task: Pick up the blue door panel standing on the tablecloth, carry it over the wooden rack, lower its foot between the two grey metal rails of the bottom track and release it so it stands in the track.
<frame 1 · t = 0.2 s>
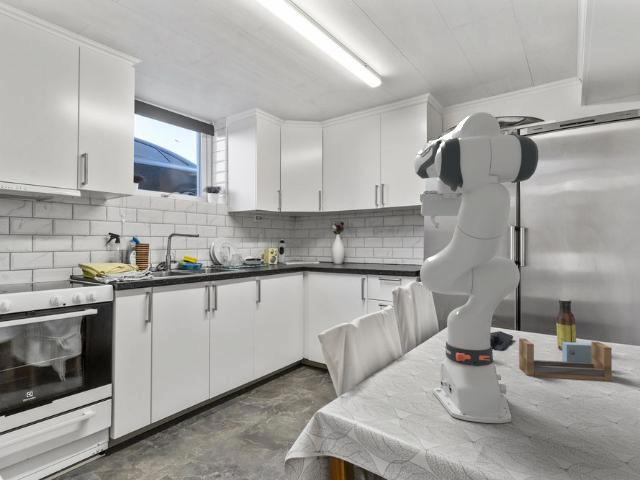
hand: (449, 228, 130), 48 cm above the table, tool pointing down, fingers open, 8 cm apart
door panel: (580, 367, 123), on the table
dark grey flat piece: (491, 344, 153), on the table
wooden rack: (563, 373, 116), on the table
sauce bottle: (566, 350, 142), on the table
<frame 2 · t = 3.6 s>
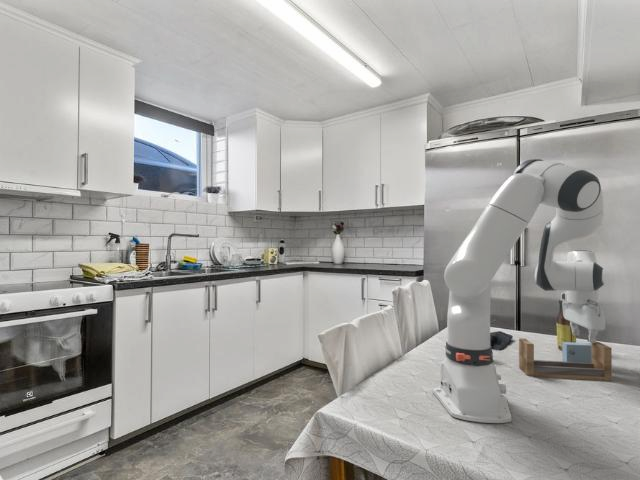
hand: (583, 338, 122), 10 cm above the table, tool pointing down, fingers open, 8 cm apart
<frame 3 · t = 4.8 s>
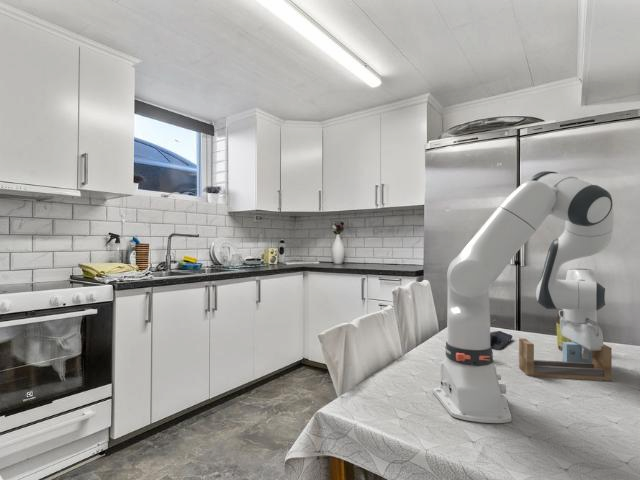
hand: (580, 356, 123), 4 cm above the table, tool pointing down, fingers closed on door panel, 3 cm apart
door panel: (580, 367, 123), on the table, touching gripper
everything else where it was.
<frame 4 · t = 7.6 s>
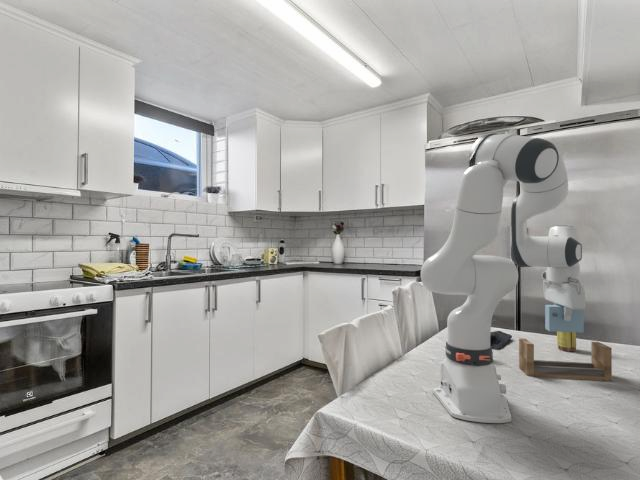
hand: (563, 318, 116), 18 cm above the table, tool pointing down, fingers closed on door panel, 3 cm apart
door panel: (564, 330, 116), point 14 cm above the table, touching gripper
when the fingers open (5 cm above the table, at t = 9.5 s): door panel stays where it is, resting on wooden rack.
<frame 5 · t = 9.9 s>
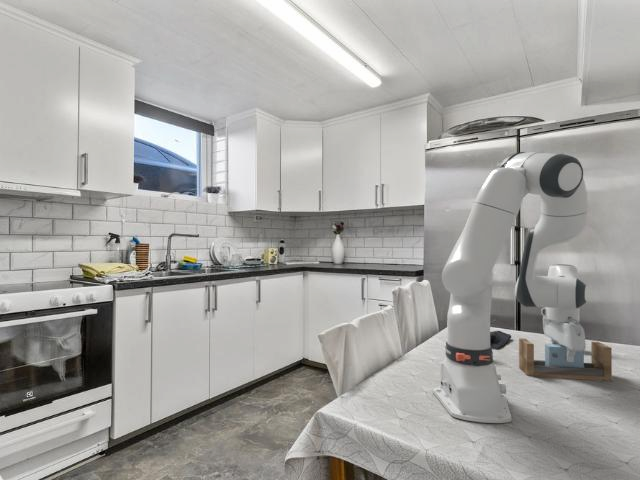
hand: (563, 357, 116), 5 cm above the table, tool pointing down, fingers open, 7 cm apart
door panel: (564, 370, 116), point 1 cm above the table, touching wooden rack
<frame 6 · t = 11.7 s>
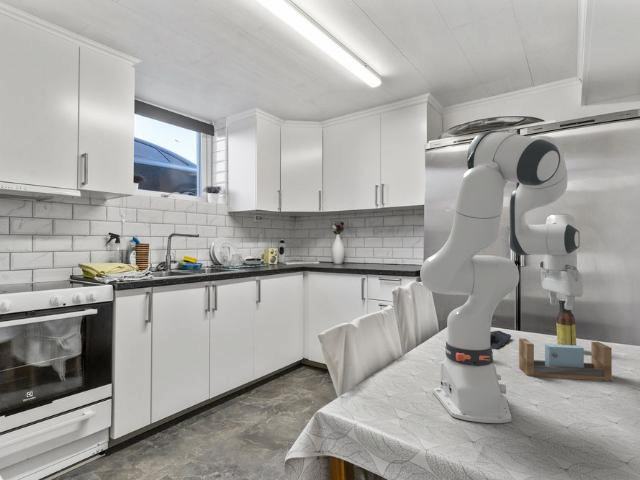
hand: (560, 306, 117), 22 cm above the table, tool pointing down, fingers open, 8 cm apart
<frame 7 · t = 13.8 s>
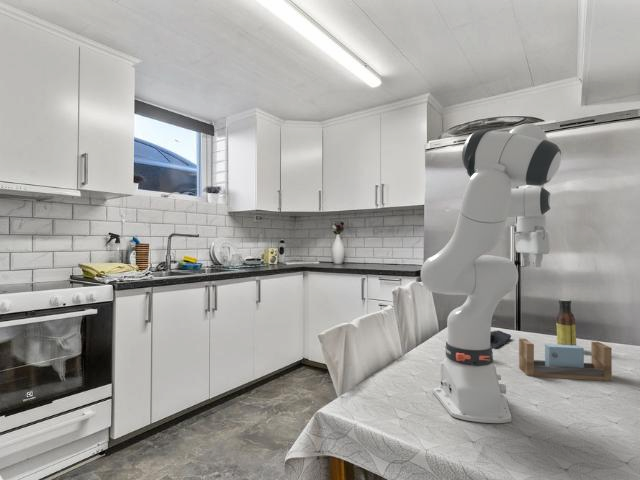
hand: (531, 266, 126), 34 cm above the table, tool pointing down, fingers open, 8 cm apart
at the end: door panel inside the target area on the wooden rack (0.2 cm from its centre), point 1.0 cm above the wooden rack's base; door panel tilted 0°; the gripper is holding nothing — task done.
